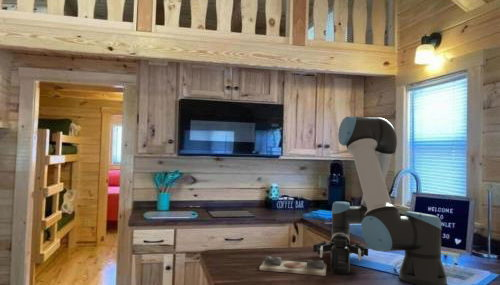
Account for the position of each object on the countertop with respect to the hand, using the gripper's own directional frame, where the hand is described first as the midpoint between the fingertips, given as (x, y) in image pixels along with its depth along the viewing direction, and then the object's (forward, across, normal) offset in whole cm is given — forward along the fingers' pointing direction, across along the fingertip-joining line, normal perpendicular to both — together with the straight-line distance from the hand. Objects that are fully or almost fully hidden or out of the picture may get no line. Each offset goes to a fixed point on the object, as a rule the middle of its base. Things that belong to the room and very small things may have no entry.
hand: (340, 255), depth 141 cm
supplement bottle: (-3, 0, -7) cm, 8 cm away
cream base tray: (-3, +17, -7) cm, 19 cm away
